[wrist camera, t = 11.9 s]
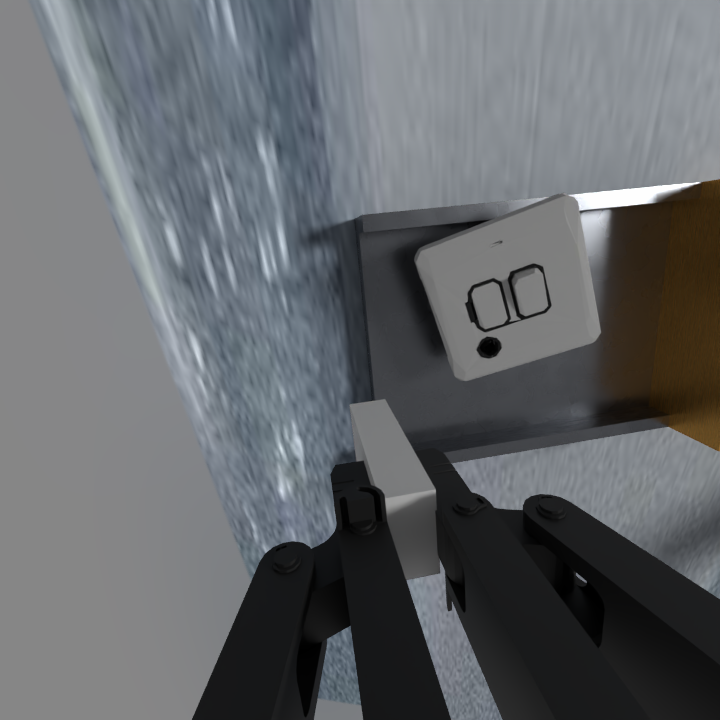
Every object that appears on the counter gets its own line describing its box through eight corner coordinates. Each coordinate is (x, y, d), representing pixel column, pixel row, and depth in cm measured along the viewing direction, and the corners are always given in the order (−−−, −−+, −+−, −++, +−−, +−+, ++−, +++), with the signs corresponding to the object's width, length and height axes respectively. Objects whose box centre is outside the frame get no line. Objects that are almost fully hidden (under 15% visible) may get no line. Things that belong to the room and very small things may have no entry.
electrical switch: (456, 387, 27) (414, 265, 22) (444, 346, 31) (406, 236, 26) (604, 344, 25) (593, 198, 20) (569, 306, 29) (553, 178, 24)
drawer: (354, 218, 27) (373, 209, 20) (669, 188, 30) (784, 169, 23) (377, 451, 32) (398, 508, 25) (643, 407, 35) (731, 448, 28)
